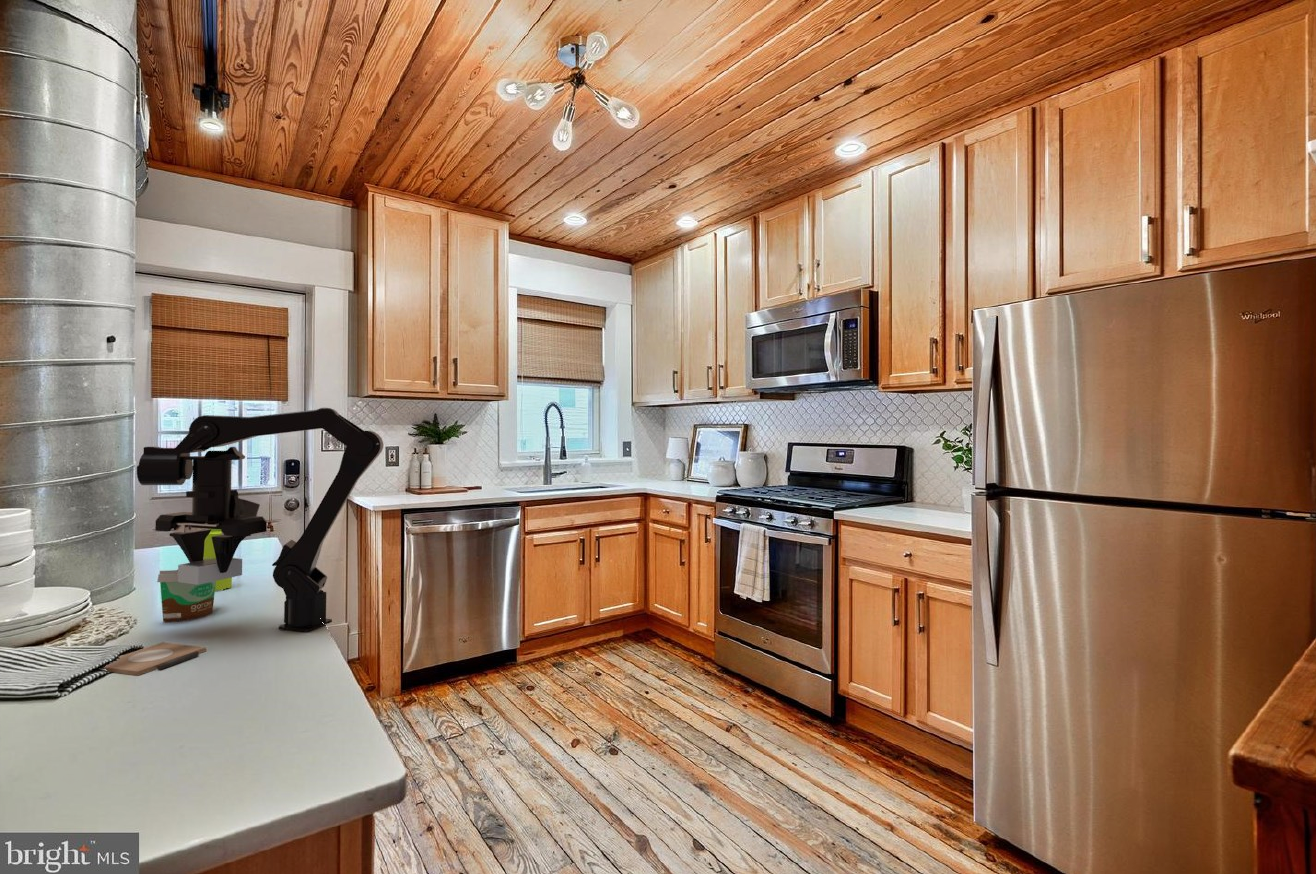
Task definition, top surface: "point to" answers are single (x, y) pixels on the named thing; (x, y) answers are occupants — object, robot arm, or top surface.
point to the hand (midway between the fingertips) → (210, 571)
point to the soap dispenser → (210, 554)
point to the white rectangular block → (207, 571)
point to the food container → (184, 598)
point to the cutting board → (154, 658)
